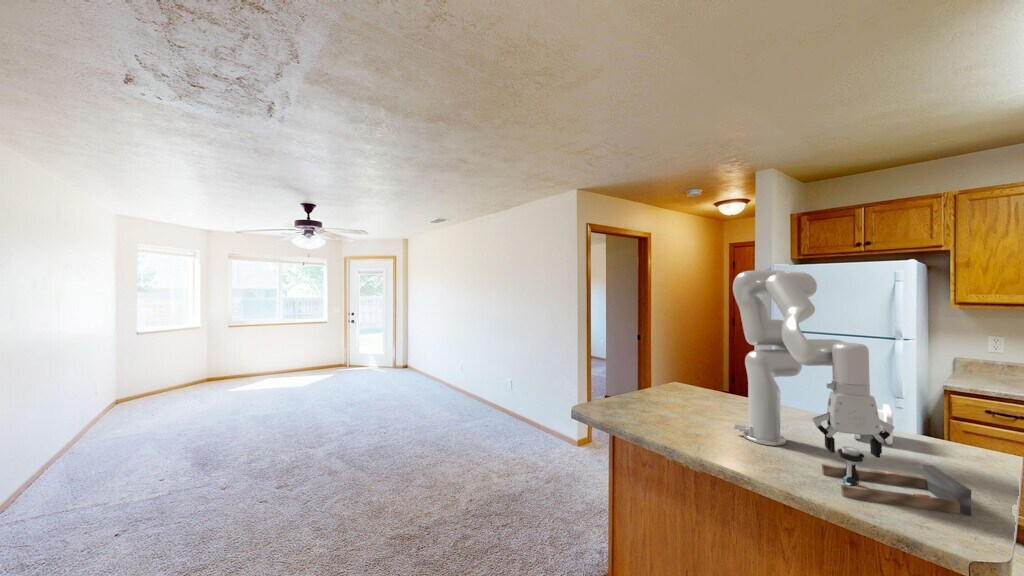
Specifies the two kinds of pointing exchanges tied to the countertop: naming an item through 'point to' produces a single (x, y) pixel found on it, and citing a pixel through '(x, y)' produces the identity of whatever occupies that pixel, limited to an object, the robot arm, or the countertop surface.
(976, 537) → the countertop surface
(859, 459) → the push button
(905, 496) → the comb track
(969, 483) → the countertop surface
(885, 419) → the cable organizer
